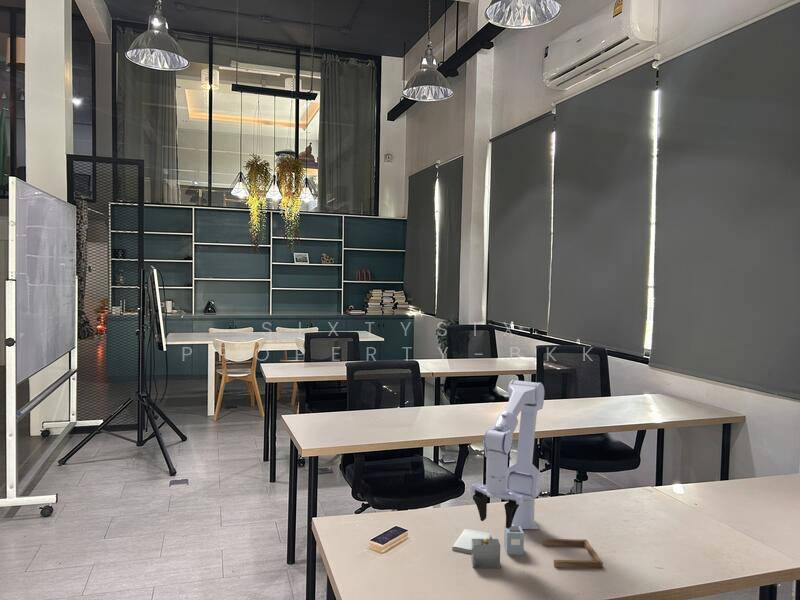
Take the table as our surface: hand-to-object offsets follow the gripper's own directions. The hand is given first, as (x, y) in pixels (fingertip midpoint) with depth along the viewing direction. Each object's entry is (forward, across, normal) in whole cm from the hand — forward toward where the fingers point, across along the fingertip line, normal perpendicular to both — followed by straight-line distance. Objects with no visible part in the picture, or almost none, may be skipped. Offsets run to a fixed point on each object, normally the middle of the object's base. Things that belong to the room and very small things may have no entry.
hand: (495, 523), depth 155 cm
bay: (+8, +17, +12) cm, 22 cm away
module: (+8, +3, +5) cm, 10 cm away
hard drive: (+9, -8, +2) cm, 12 cm away
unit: (+8, +1, -7) cm, 11 cm away
